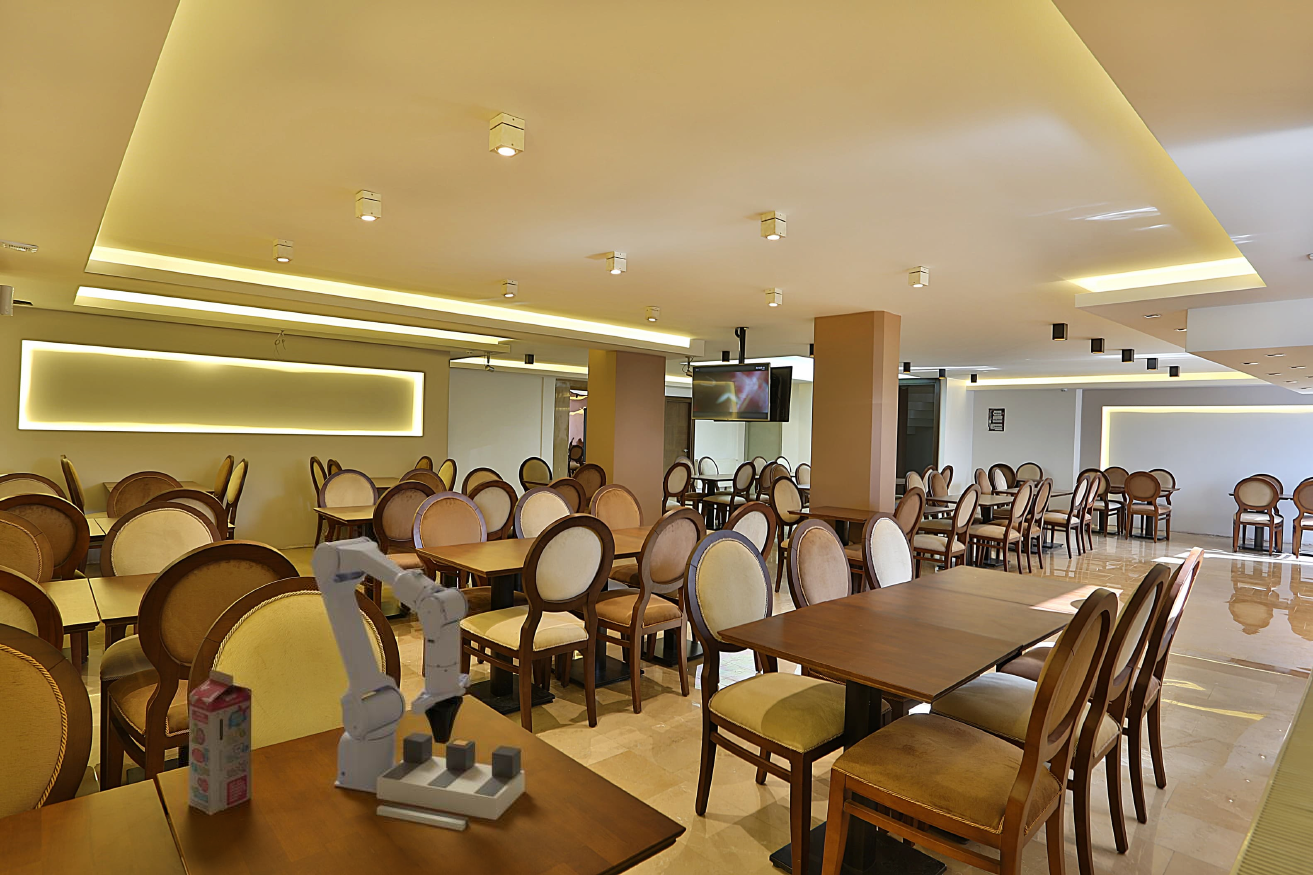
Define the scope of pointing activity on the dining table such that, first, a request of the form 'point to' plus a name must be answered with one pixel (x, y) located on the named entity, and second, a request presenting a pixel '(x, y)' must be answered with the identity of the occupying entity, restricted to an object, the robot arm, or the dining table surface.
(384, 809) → the long grey stick
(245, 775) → the juice carton
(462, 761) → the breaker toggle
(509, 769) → the white panel with blocks
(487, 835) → the dining table surface
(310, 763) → the dining table surface
